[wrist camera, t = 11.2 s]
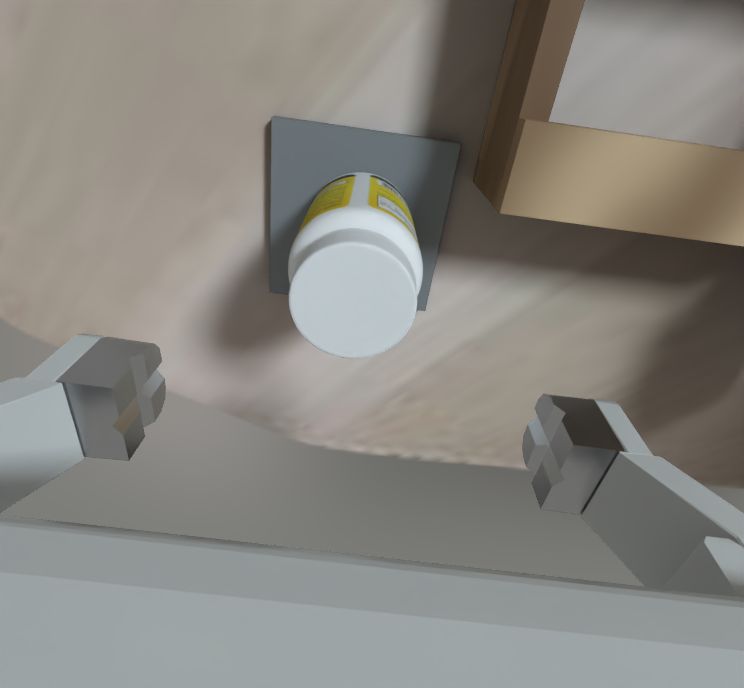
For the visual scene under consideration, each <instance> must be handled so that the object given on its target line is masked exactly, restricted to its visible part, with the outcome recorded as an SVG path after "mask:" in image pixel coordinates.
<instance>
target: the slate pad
mask: <svg viewBox="0 0 744 688" xmlns="http://www.w3.org/2000/svg"><path fill="white" fill-rule="evenodd" d="M460 147H461V144H460V143H459V142H452V141H445V140H438V139H431V138H424V137H418V136H411V135H404V134H397V133H390V132H383V131H376V130H369V129H362V128H355V127H348V126H341V125H334V124H327V123H320V122H313V121H306V120H299V119H292V118H285V117H278V116H273V117H271V212H270V292H273V293H282V294H289V288H290V282H289V276H288V262H289V255H290V251H291V248H292V245H293V243H294V240H295V238H296V236H297V234H298V232H299V230H300V227H301V225H302V223H303V221H304V219H305V217H306V214H307V212H308V210H309V208H310V206H311V204H312V202H313V200H314V198H315V196H316V195H317V193H318V192H319V191H320V190H321V189H322V187H323V186H324V185H326V184H327V183H328V182H329V181H331V180H333V179H334V178H336V177H339V176H341V175H344V174H348V173H355V172H365V173H371V174H375V175H378V176H380V177H382V178H384V179H386V180H388V181H389V182H391V183H392V184H393V185H394V186H395V187H396V188H397V189H398V190H399V191H400V192H401V193H402V195H403V196H404V198H405V200H406V202H407V204H408V206H409V209H410V212H411V217H412V220H413V224H414V228H415V232H416V236H417V240H418V244H419V248H420V251H421V256H422V261H423V278H422V284H421V288H420V291H419V294H418V296H417V310H421V311H425V310H426V305H427V300H428V296H429V291H430V286H431V282H432V277H433V272H434V268H435V263H436V259H437V254H438V249H439V245H440V240H441V235H442V231H443V226H444V221H445V217H446V212H447V207H448V203H449V198H450V193H451V189H452V184H453V180H454V175H455V170H456V166H457V161H458V156H459V152H460Z"/></svg>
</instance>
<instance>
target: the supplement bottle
mask: <svg viewBox="0 0 744 688" xmlns="http://www.w3.org/2000/svg"><path fill="white" fill-rule="evenodd" d="M288 276H289V282H290V288H289V308H290V313H291V316H292V319H293V321H294V323H295V325H296V327H297V328H298V330H299V331H300V333H301V334H302V335H303V336H304V337H305V338H306V339H307V340H308V341H309V342H310V343H311V344H312V345H314V346H315V347H317V348H318V349H320V350H322V351H324V352H326V353H329V354H331V355H335V356H339V357H343V358H365V357H370V356H374V355H377V354H380V353H382V352H384V351H386V350H388V349H390V348H391V347H393V346H394V345H395V344H397V343H398V342H399V341H400V340H401V339H402V338H403V337H404V336H405V334H406V333H407V332H408V330H409V329H410V327H411V325H412V323H413V320H414V317H415V314H416V310H417V296H418V294H419V291H420V288H421V284H422V278H423V261H422V256H421V251H420V248H419V244H418V240H417V236H416V232H415V228H414V224H413V220H412V217H411V212H410V209H409V206H408V204H407V202H406V200H405V198H404V196H403V195H402V193H401V192H400V191H399V190H398V189H397V188H396V187H395V186H394V185H393V184H392V183H391V182H389V181H388V180H386V179H384V178H382V177H380V176H378V175H375V174H371V173H365V172H355V173H348V174H344V175H341V176H339V177H336V178H334V179H333V180H331V181H329V182H328V183H327V184H326V185H324V186H323V187H322V189H321V190H320V191H319V192H318V193H317V195H316V196H315V198H314V200H313V202H312V204H311V206H310V208H309V210H308V212H307V214H306V217H305V219H304V221H303V223H302V225H301V227H300V230H299V232H298V234H297V236H296V238H295V240H294V243H293V245H292V248H291V251H290V255H289V262H288Z"/></svg>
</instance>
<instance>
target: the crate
mask: <svg viewBox="0 0 744 688" xmlns="http://www.w3.org/2000/svg"><path fill="white" fill-rule="evenodd" d="M584 1H585V0H516V2H515V6H514V10H513V14H512V19H511V23H510V27H509V31H508V36H507V40H506V44H505V48H504V52H503V57H502V61H501V65H500V69H499V73H498V78H497V82H496V86H495V90H494V95H493V99H492V103H491V107H490V111H489V116H488V120H487V124H486V128H485V132H484V137H483V141H482V145H481V149H480V154H479V158H478V162H477V166H476V170H475V175H474V179H473V182H474V183H475V184H476V185H477V187H478V188H479V189H480V190H481V191H482V193H483V194H484V195H485V196H486V198H487V199H488V200H489V201H490V202H491V204H492V205H493V206H494V207H495V208H496V210H497V211H498V212H499V213H500V214H508V215H515V216H522V217H530V218H537V219H545V220H552V221H559V222H567V223H574V224H581V225H589V226H596V227H604V228H611V229H618V230H626V231H633V232H641V233H648V234H655V235H663V236H670V237H678V238H685V239H692V240H700V241H707V242H714V243H722V244H729V245H737V246H744V151H743V150H737V149H730V148H723V147H716V146H709V145H703V144H696V143H689V142H682V141H676V140H669V139H662V138H655V137H649V136H642V135H635V134H628V133H622V132H615V131H608V130H601V129H595V128H588V127H581V126H574V125H568V124H561V123H554V122H548V120H549V117H550V114H551V110H552V107H553V104H554V100H555V97H556V94H557V91H558V87H559V84H560V81H561V77H562V74H563V71H564V67H565V64H566V61H567V57H568V54H569V51H570V47H571V44H572V41H573V37H574V34H575V31H576V28H577V24H578V21H579V18H580V14H581V11H582V8H583V4H584Z"/></svg>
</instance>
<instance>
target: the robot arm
mask: <svg viewBox="0 0 744 688" xmlns="http://www.w3.org/2000/svg"><path fill="white" fill-rule="evenodd" d="M161 362H162V359H161V353H160V348H159V347H158V346H157V345H156V344H153V343H146V342H140V341H133V340H126V339H119V338H113V337H104V336H98V335H90V334H77V335H75V336H74V337H72V338H71V339H70V340H69V341H68V342H67V343H65V344H64V345H63V346H62V347H61V348H59V349H58V350H57V351H56V352H55V353H54V354H52V355H51V356H50V357H49V358H48V359H47V360H46V361H44V362H43V363H42V364H41V365H40V366H38V367H37V368H36V369H35V370H34V371H33V372H31V373H30V374H29V375H28V376H27V377H25V378H18V377H16V378H13V379H10V380H7V381H4V382H1V383H0V513H1V512H2V511H4V510H5V509H7V508H8V507H10V506H12V505H13V504H15V503H16V502H18V501H19V500H21V499H23V498H24V497H26V496H27V495H29V494H30V493H32V492H33V491H35V490H37V489H38V488H40V487H41V486H43V485H44V484H46V483H47V482H49V481H51V480H52V479H54V478H55V477H57V476H58V475H60V474H61V473H63V472H65V471H66V470H68V469H69V468H71V467H72V466H74V465H76V464H77V463H79V462H80V461H82V460H84V457H94V458H104V459H115V460H126V461H129V460H130V458H131V457H132V455H133V454H134V452H135V451H136V449H137V448H138V446H139V445H140V443H141V442H142V440H143V439H144V437H145V435H144V429H143V427H145V426H147V425H149V424H151V423H153V422H155V420H156V419H157V417H158V416H159V414H160V412H161V410H162V407H163V404H164V400H165V391H166V386H165V379H164V377H163V376H162V375H161V374H160V373H159V372H158V371H157V370H156V369H157V367H158V366H159V365H160V363H161ZM535 411H536V413H537V416H538V417H537V418H536V419H534V420H533V421H531V422H530V423H528V425H527V427H526V430H525V433H524V435H523V445H522V450H523V458H524V461H525V464H526V467H527V468H529V469H530V470H531V471H532V472H533V473H534V474H535V477H534V479H533V481H532V485H533V488H534V491H535V494H536V497H537V500H538V502H539V505H540V508H541V509H544V510H551V511H558V512H564V513H571V514H579V515H582V516H581V517H582V519H583V520H584V521H585V522H586V523H587V524H588V525H589V526H590V527H591V528H592V529H593V531H594V532H595V533H596V534H597V535H598V536H599V537H600V538H601V539H602V540H603V542H604V543H605V544H606V545H607V546H608V547H609V548H610V549H611V550H612V551H613V552H614V554H615V555H616V556H617V557H618V558H619V559H620V560H621V561H622V562H623V563H624V565H625V566H626V567H627V568H628V569H629V570H630V571H631V572H632V573H633V574H634V576H635V577H636V578H637V579H638V580H639V581H640V582H641V583H642V584H643V585H644V586H645V587H644V586H635V585H626V584H617V583H608V582H599V581H589V580H580V579H571V578H563V577H554V576H545V575H536V574H527V573H518V572H509V571H501V570H492V569H482V568H473V567H465V566H456V565H447V564H438V563H429V562H420V561H411V560H402V559H393V558H384V557H375V556H366V555H356V554H348V553H339V552H330V551H321V550H312V549H303V548H294V547H285V546H276V545H268V544H258V543H250V542H249V543H248V542H240V541H232V540H222V539H214V538H213V539H212V538H204V537H195V536H187V535H177V534H168V533H160V532H150V531H141V530H133V529H123V528H114V527H105V526H97V525H87V524H79V523H70V522H60V521H51V520H43V519H33V518H24V517H16V516H7V515H0V688H744V513H743V512H741V511H740V510H738V509H737V508H735V507H734V506H732V505H731V504H729V503H728V502H727V501H725V500H724V499H722V498H721V497H719V496H718V495H716V494H715V493H713V492H712V491H710V490H709V489H707V488H706V487H705V486H703V485H702V484H700V483H699V482H697V481H696V480H694V479H693V478H691V477H690V476H688V475H687V474H685V473H684V472H682V471H681V470H680V469H678V468H677V467H675V466H674V465H672V464H671V463H669V462H668V461H666V460H665V459H663V458H662V457H659V456H653V455H652V453H651V452H650V450H649V449H648V447H647V446H646V444H645V443H644V441H643V440H642V438H641V437H640V435H639V434H638V432H637V431H636V429H635V428H634V426H633V425H632V423H631V422H630V421H629V419H628V418H627V416H626V415H625V413H624V412H623V410H622V409H621V407H620V406H619V405H618V404H617V403H615V402H614V401H609V400H598V399H583V398H574V397H566V396H557V395H549V394H543V395H542V396H541V397H540V398H539V399H538V401H537V404H536V406H535Z"/></svg>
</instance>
